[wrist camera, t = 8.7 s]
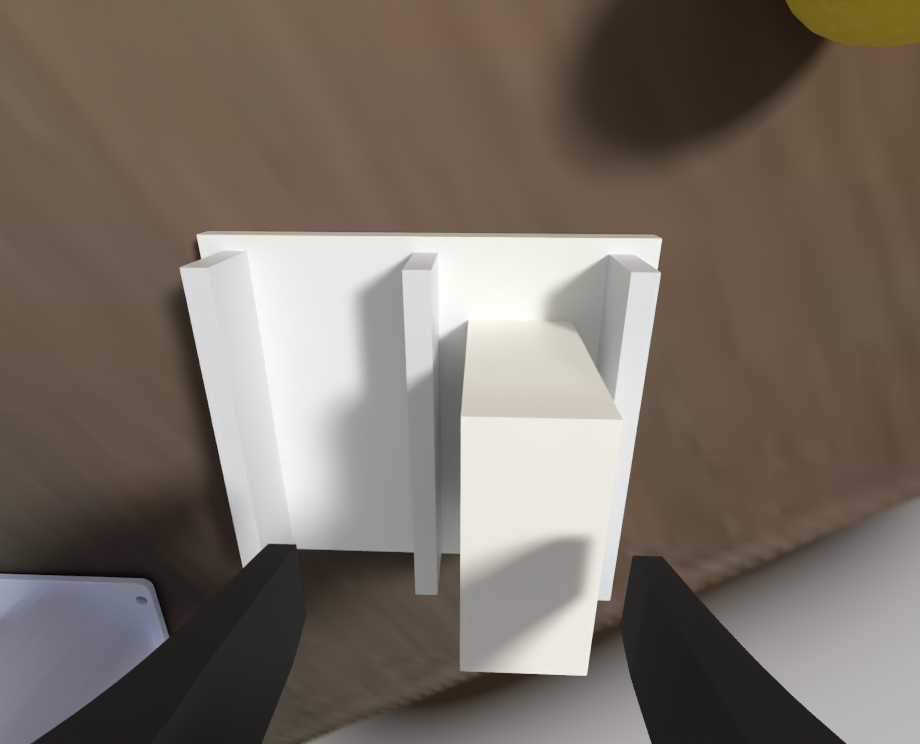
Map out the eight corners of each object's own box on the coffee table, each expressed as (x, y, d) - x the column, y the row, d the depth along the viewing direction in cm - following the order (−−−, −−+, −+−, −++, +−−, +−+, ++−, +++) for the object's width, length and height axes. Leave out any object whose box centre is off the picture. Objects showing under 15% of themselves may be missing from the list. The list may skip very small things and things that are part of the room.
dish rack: (608, 544, 22) (630, 611, 19) (264, 534, 23) (228, 598, 20) (654, 234, 17) (694, 254, 14) (208, 231, 18) (147, 249, 14)
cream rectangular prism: (571, 321, 18) (623, 419, 11) (554, 512, 21) (586, 675, 14) (468, 319, 18) (460, 416, 11) (466, 510, 21) (460, 671, 14)
